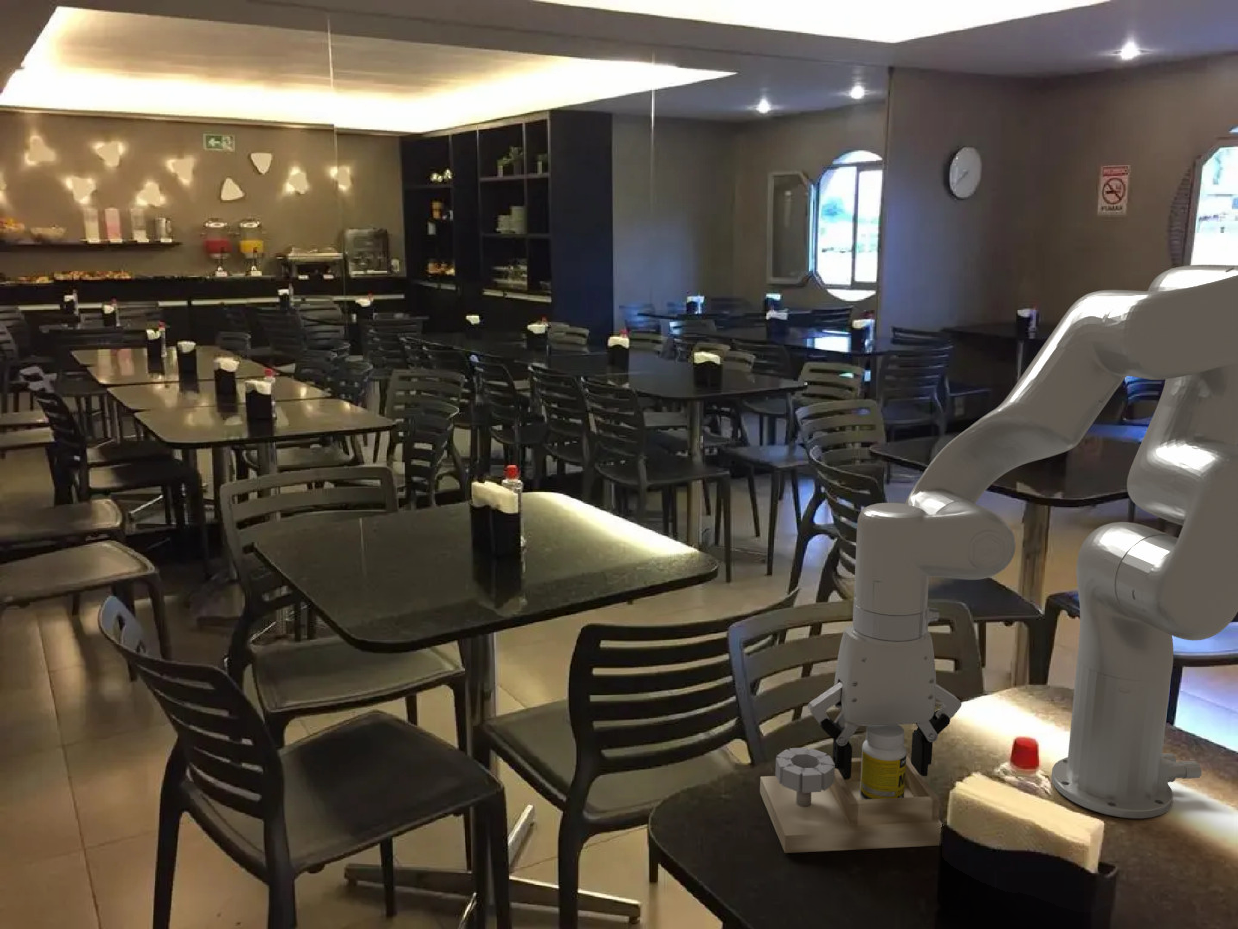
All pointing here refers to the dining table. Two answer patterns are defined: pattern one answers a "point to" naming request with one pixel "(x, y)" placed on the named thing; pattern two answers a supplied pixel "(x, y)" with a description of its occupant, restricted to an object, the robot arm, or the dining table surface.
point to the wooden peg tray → (853, 815)
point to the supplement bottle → (883, 763)
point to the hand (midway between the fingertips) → (881, 771)
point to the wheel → (805, 770)
